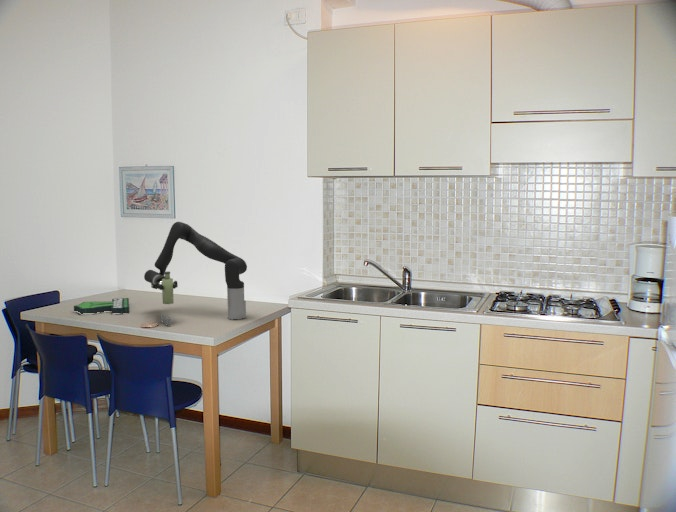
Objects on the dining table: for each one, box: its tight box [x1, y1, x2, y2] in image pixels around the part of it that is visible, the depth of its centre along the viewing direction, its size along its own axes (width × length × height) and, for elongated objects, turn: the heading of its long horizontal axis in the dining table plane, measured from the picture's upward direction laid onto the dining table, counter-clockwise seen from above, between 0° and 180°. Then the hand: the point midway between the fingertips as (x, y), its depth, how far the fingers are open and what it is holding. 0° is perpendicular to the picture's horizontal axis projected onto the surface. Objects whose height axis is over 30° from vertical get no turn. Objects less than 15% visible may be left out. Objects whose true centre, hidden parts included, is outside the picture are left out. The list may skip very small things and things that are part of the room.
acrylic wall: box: [160, 313, 171, 327], centre depth 300 cm, size 1×14×4 cm, turn 32°
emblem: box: [73, 297, 130, 314], centre depth 333 cm, size 30×4×30 cm
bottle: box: [161, 271, 175, 305], centre depth 300 cm, size 6×6×17 cm
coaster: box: [139, 322, 159, 328], centre depth 296 cm, size 9×9×1 cm
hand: (168, 287), depth 297 cm, fingers closed on bottle, 5 cm apart
